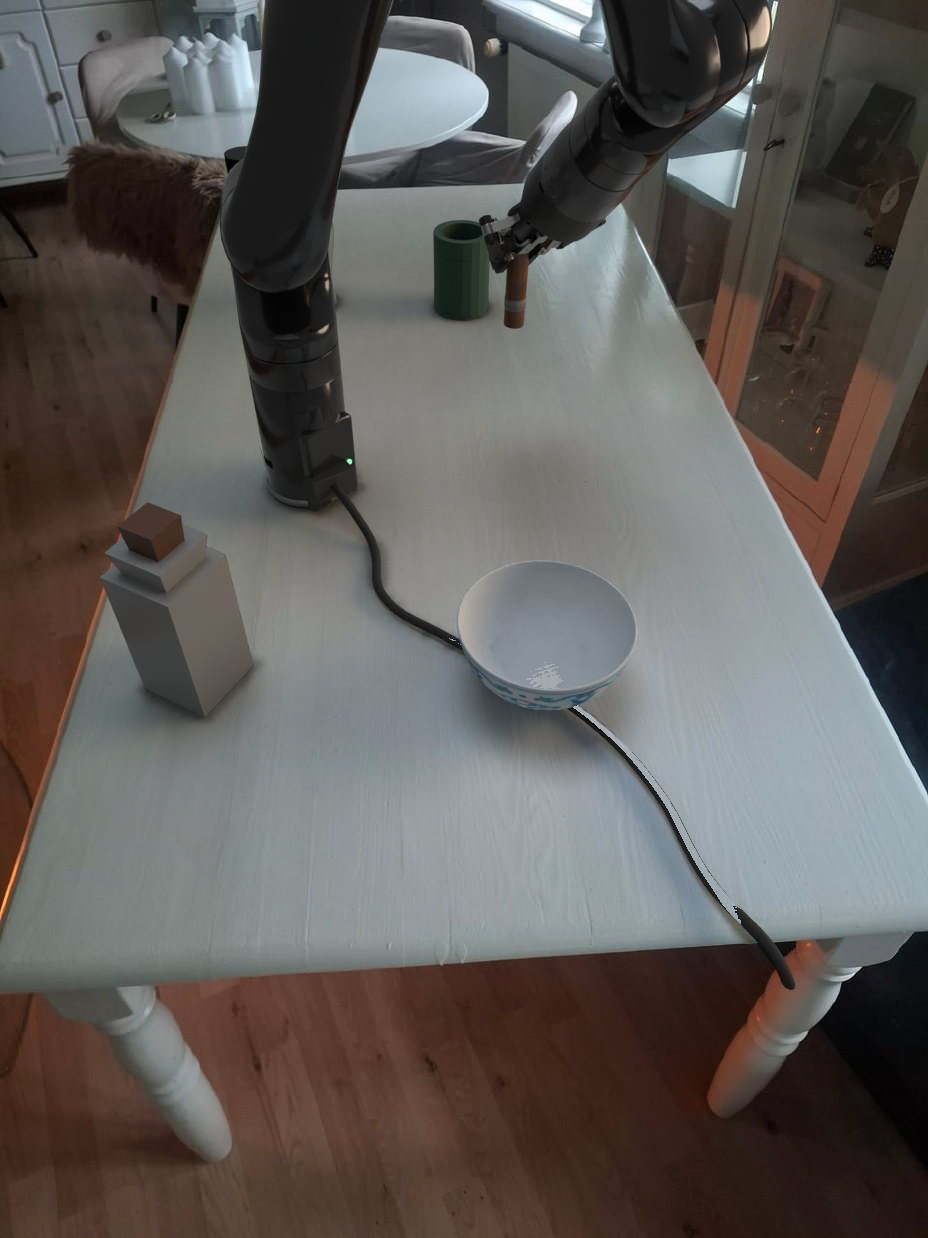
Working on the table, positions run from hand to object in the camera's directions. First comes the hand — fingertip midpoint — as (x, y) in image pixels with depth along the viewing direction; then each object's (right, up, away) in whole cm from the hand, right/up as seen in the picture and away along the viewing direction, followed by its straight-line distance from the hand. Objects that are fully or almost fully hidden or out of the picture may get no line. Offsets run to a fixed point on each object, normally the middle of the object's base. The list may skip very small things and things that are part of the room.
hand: (507, 261), depth 90 cm
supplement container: (-40, +31, +57) cm, 77 cm away
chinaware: (+2, -43, -12) cm, 45 cm away
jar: (-5, +8, +36) cm, 37 cm away
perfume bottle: (-28, -43, -13) cm, 53 cm away
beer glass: (-26, +9, +37) cm, 46 cm away
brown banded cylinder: (+1, -6, +3) cm, 6 cm away
